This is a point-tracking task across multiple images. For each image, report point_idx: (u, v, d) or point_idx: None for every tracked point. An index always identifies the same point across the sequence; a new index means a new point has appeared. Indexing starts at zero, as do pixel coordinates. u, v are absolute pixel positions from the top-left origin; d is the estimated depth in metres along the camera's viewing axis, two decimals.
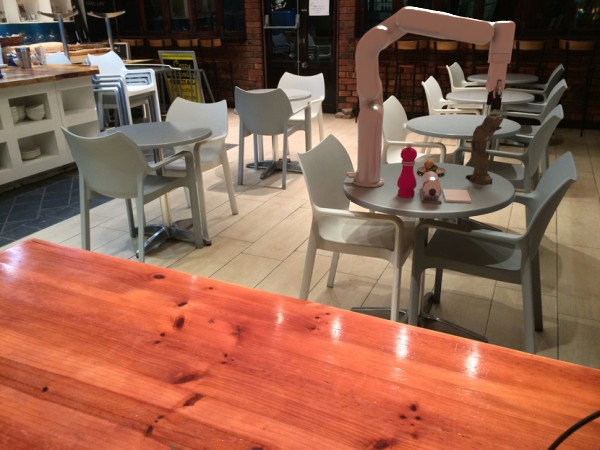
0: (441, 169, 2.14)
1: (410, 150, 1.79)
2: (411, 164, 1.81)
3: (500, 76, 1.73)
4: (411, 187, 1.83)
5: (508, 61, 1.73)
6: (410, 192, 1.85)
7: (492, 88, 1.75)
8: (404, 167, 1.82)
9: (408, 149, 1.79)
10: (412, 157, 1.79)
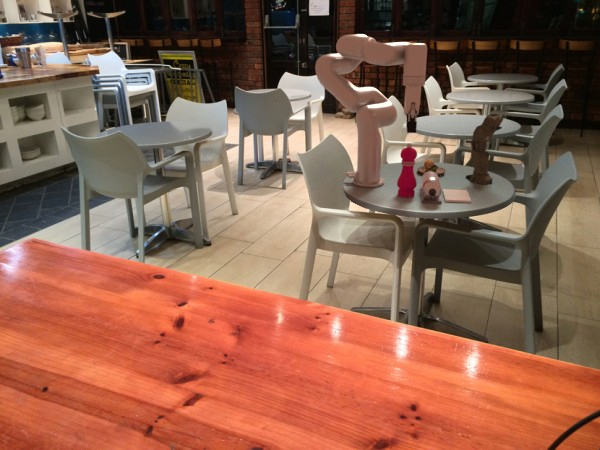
0: (441, 169, 2.14)
1: (410, 150, 1.79)
2: (411, 164, 1.81)
3: (413, 99, 1.69)
4: (411, 187, 1.83)
5: (421, 84, 1.68)
6: (410, 192, 1.85)
7: (406, 111, 1.71)
8: (404, 167, 1.82)
9: (408, 149, 1.79)
10: (412, 157, 1.79)
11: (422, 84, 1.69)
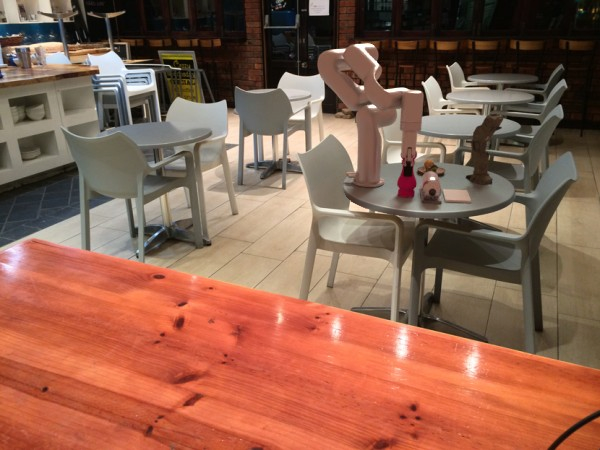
0: (441, 169, 2.14)
1: None
2: None
3: (410, 144, 1.75)
4: (411, 187, 1.83)
5: (418, 129, 1.75)
6: (410, 192, 1.85)
7: (403, 155, 1.77)
8: None
9: None
10: None
11: (418, 130, 1.75)
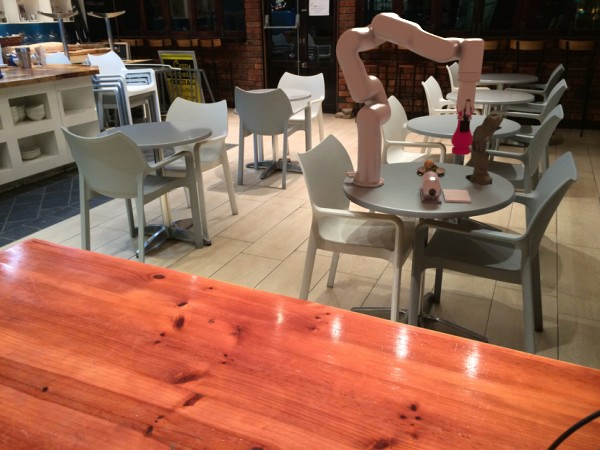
0: (441, 169, 2.14)
1: None
2: None
3: (469, 96, 1.65)
4: (467, 143, 1.73)
5: (477, 80, 1.65)
6: (466, 149, 1.75)
7: (461, 108, 1.67)
8: None
9: None
10: None
11: (478, 81, 1.65)
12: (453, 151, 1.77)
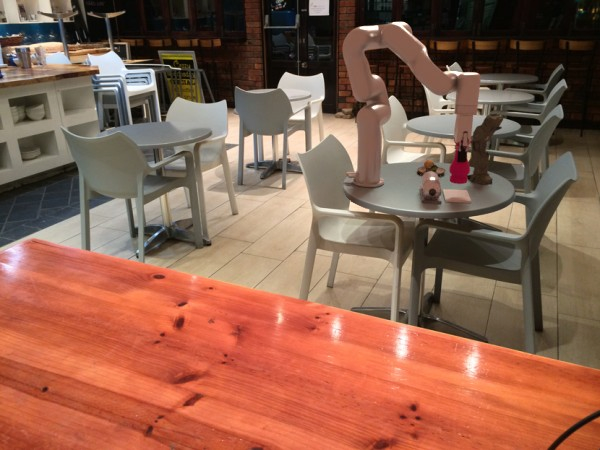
0: (441, 169, 2.14)
1: None
2: None
3: (466, 128, 1.69)
4: (465, 173, 1.77)
5: (474, 113, 1.69)
6: (463, 178, 1.79)
7: (458, 140, 1.71)
8: None
9: None
10: None
11: (474, 113, 1.69)
12: (451, 180, 1.81)
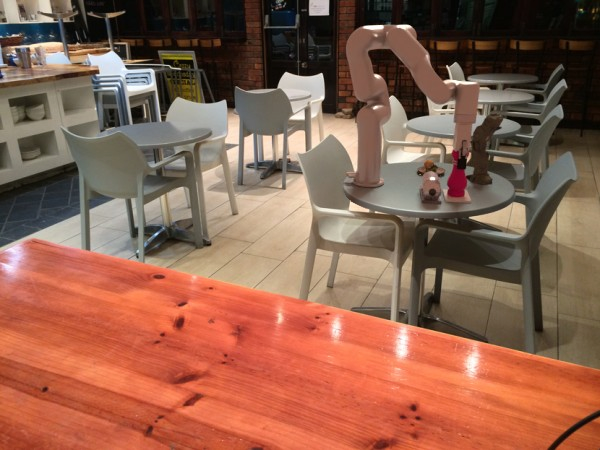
0: (441, 169, 2.14)
1: (462, 149, 1.75)
2: None
3: (465, 137, 1.71)
4: (462, 187, 1.79)
5: (473, 122, 1.70)
6: (461, 192, 1.81)
7: (457, 148, 1.73)
8: (455, 166, 1.79)
9: None
10: None
11: (473, 122, 1.71)
12: (448, 193, 1.83)
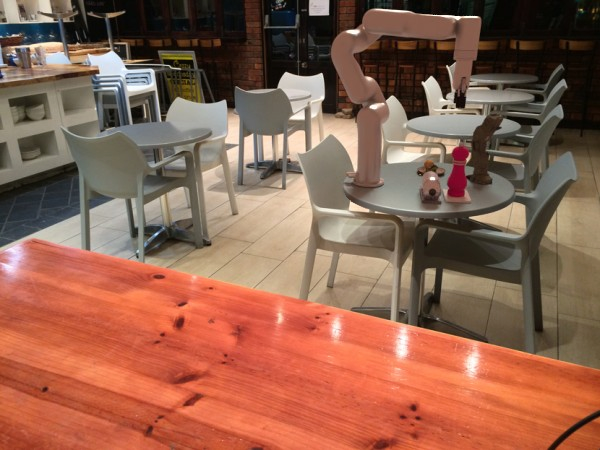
0: (441, 169, 2.14)
1: (462, 149, 1.75)
2: (463, 163, 1.77)
3: (464, 74, 1.66)
4: (462, 187, 1.79)
5: (473, 58, 1.66)
6: (461, 192, 1.81)
7: (456, 86, 1.68)
8: (455, 166, 1.79)
9: (460, 148, 1.76)
10: (464, 156, 1.76)
11: (474, 58, 1.66)
12: (448, 193, 1.83)
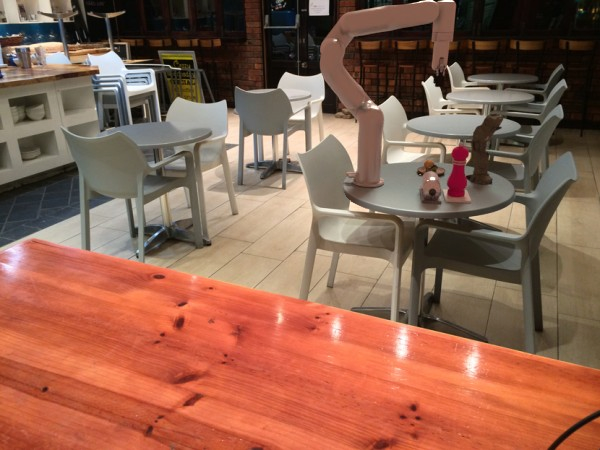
0: (441, 169, 2.14)
1: (462, 149, 1.75)
2: (463, 163, 1.77)
3: (442, 54, 1.79)
4: (462, 187, 1.79)
5: (450, 39, 1.79)
6: (461, 192, 1.81)
7: (435, 66, 1.81)
8: (455, 166, 1.79)
9: (460, 148, 1.76)
10: (464, 156, 1.76)
11: (450, 40, 1.79)
12: (448, 193, 1.83)
